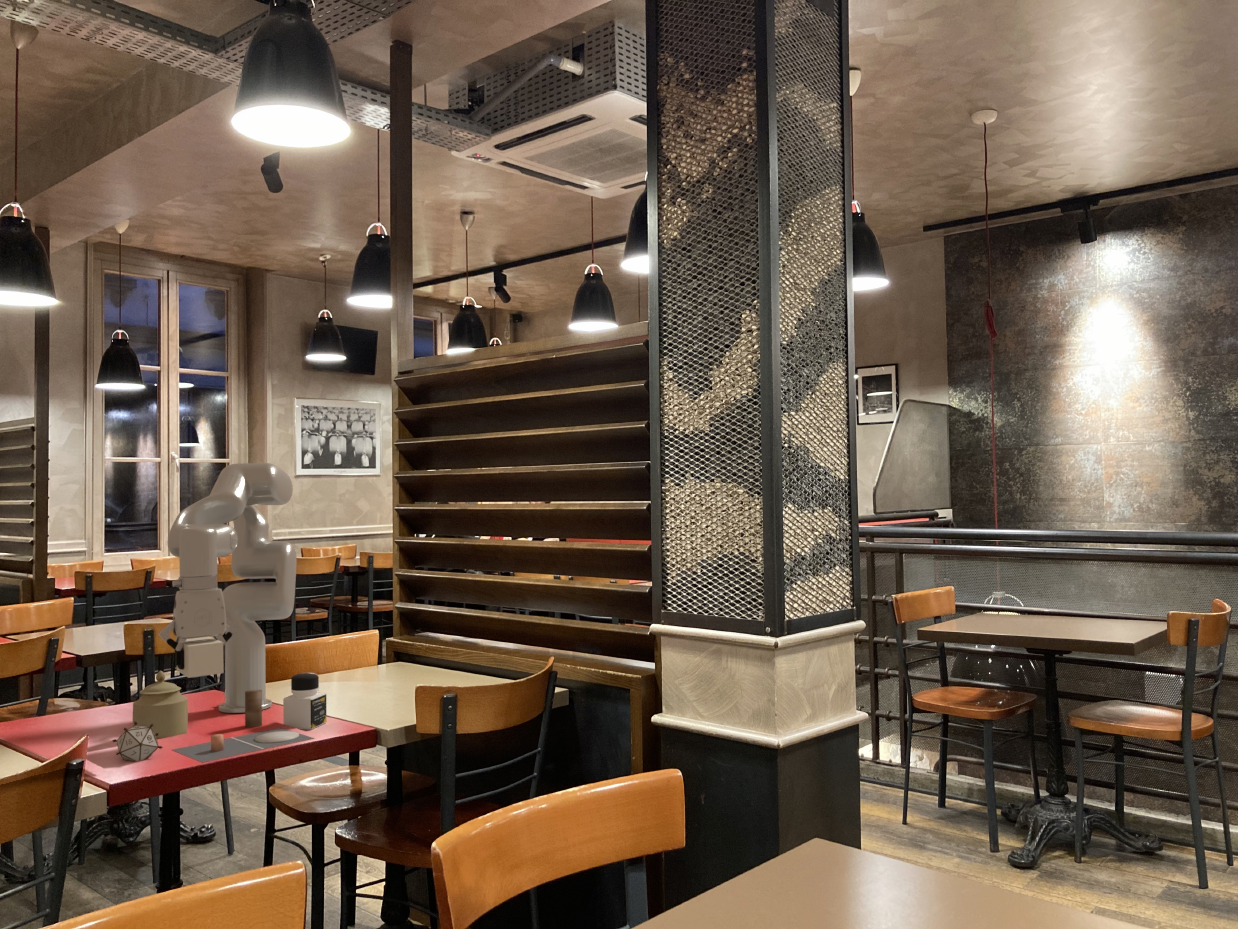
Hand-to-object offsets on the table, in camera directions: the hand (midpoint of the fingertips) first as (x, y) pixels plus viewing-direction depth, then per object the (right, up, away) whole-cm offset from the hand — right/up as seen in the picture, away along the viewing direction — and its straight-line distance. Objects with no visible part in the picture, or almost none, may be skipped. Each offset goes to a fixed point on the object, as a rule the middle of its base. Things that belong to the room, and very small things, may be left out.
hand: (199, 665), depth 206 cm
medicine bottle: (+18, -17, +14) cm, 29 cm away
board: (+12, -16, -6) cm, 21 cm away
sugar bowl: (-13, -18, +6) cm, 23 cm away
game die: (-6, -17, -15) cm, 23 cm away
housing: (0, -1, 0) cm, 1 cm away
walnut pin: (+8, -17, +10) cm, 22 cm away
